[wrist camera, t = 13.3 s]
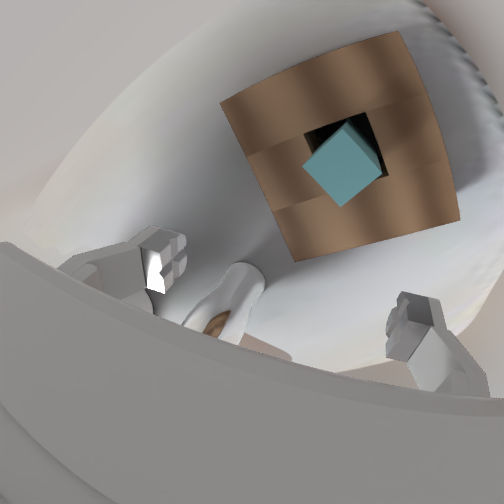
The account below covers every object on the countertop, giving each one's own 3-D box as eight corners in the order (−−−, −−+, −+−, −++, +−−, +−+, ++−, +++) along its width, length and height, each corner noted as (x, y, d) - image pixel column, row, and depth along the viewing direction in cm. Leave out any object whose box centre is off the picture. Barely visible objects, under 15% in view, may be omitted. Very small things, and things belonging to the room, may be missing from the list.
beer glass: (267, 303, 43) (226, 381, 31) (224, 291, 45) (175, 361, 33) (270, 264, 40) (224, 344, 28) (223, 254, 42) (165, 323, 30)
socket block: (305, 236, 36) (294, 262, 31) (243, 101, 30) (219, 103, 25) (445, 199, 27) (460, 220, 22) (391, 43, 21) (398, 30, 16)
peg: (347, 169, 30) (340, 207, 20) (322, 142, 29) (301, 166, 20) (374, 146, 27) (382, 173, 18) (348, 118, 27) (342, 128, 17)
